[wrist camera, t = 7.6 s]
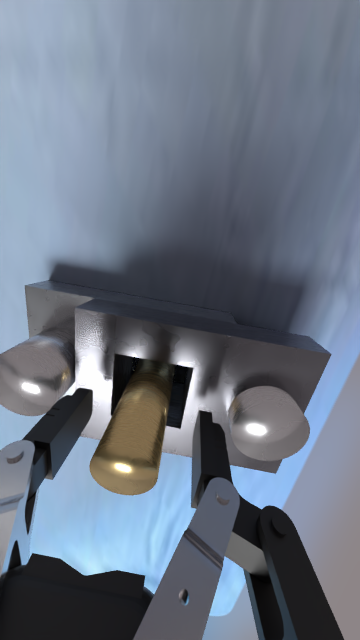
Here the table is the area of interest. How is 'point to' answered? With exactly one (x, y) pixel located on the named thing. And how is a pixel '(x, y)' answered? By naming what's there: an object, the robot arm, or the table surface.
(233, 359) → the knobbed metal plate
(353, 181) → the table surface
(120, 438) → the brass pin
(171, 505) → the table surface
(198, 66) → the table surface
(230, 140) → the table surface
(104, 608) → the robot arm
